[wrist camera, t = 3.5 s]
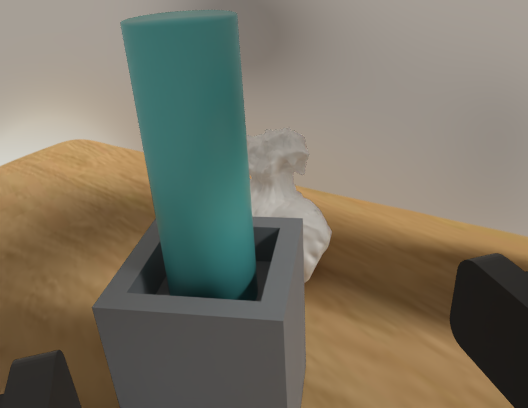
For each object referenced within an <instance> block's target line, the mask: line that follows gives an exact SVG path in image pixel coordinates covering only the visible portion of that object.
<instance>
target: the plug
mask: <svg viewBox="0 0 528 408" xmlns="http://www.w3.org/2000/svg"><path fill="white" fill-rule="evenodd" d="M121 29H122V34H123V40H124V46H125V51H126V56H127V62H128V67H129V73H130V78H131V84H132V89H133V95H134V100H135V105H136V111H137V117H138V122H139V128H140V133H141V139H142V144H143V150H144V155H145V161H146V166H147V172H148V177H149V183H150V188H151V194H152V199H153V205H154V210H155V216H156V221H157V227H158V232H159V237H160V243H161V248H162V254H163V259H164V265H165V270H166V276H167V281H168V287H169V292H170V296H184V297H199V298H215V299H230V300H246V301H256V298H257V295H258V284H257V271H256V257H255V244H254V231H253V218H252V204H251V191H250V178H249V164H248V151H247V138H246V125H245V113H244V112H245V111H244V99H243V85H242V72H241V60H240V45H239V32H238V19H237V13H236V12H232V11H224V10H192V11H176V12H166V13H157V14H150V15H144V16H138V17H134V18H129V19H126V20H124V21H122V22H121Z"/></svg>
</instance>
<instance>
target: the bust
mask: <svg viewBox="0 0 528 408" xmlns="http://www.w3.org/2000/svg"><path fill="white" fill-rule="evenodd" d="M246 138H247V151H248V164H249V175H251V177H252V179H250V191H251V204H252V216H253V217H282V218H303V250H304V283H305V282H307V281H308V280H309V279H310V277H311V275H312V273H313V271H314V269H315V267H316V265H317V263H318V261H319V260H320V258H321V256H322V254H323V253H324V252H325V251H326V250H327V248H328V246H329V243H330V238H331V234H332V231H331V229H330V227H329V226H328V225H327V222H326V220H325V218H324V217H323V214H322V212H321V211H320V209H319V208H318V207H317V206H316V205H315V204H314V203H313V202H312V201H310V200H308V199H306V198H304V197H303V196H302V194H301V193H300V192H298V191H296V187H295V185H294V182H293V173H294V172H297V173H299V174H301V175H304V174H305V167H306V163H307V160H308V157H309V153H308V150H307V146H306V141H305V137H304V136H303V135H301V134H299V133H297V132H296V131H295V130H294V131H291V129H290V128H283V129H281V130H273V131H272V130H265V134H260V135H258V136H254V137H253V136H249V135H246Z"/></svg>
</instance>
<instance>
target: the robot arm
mask: <svg viewBox="0 0 528 408" xmlns="http://www.w3.org/2000/svg"><path fill="white" fill-rule="evenodd" d="M450 325H451V330H452V333H453V335H454V337H455V339H456V341H457V343H458V344H459V346H460V347H461V348H462V349H463V350H464V351H465V352H466V354H467V355H468V356H469V357H470V358H471V359H472V360H473V361H474V363H475V364H476V365H477V366H478V367H479V368H480V369H481V370H482V372H483V373H484V374H485V375H486V376H487V377H488V378H489V379H490V381H491V382H492V383H493V384H494V385H495V386H496V387H497V388H498V390H499V391H500V392H501V393H502V394H503V395H504V396H505V397H506V399H507V400H508V401H509V402H510V403H511V404H512V405H513V406H514V408H528V272H527V271H526V272H524V271H523V270H522V269H521V268H519V267H518V266H517V265H515V264H514V263H513V262H511V261H510V260H509V259H508V258H506V257H505V256H503V255H501V254H498V253H495V254H490V255H485V256H481V257H476V258H472V259H468V260H464V261H462V262H461V263H460V264H459V266H458V270H457V275H456V282H455V288H454V294H453V300H452V307H451V313H450ZM0 408H81V405H80V402H79V399H78V396H77V393H76V390H75V387H74V384H73V381H72V378H71V375H70V372H69V369H68V366H67V363H66V360H65V357H64V355H63V353H62V351H61V350H56V351H51V352H47V353H42V354H38V355H34V356H29V357H25V358H20V359H16V360H14V361H13V363H12V365H11V368H10V372H9V376H8V380H7V384H6V388H5V393H4V394H1V395H0Z"/></svg>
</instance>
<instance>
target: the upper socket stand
mask: <svg viewBox="0 0 528 408" xmlns="http://www.w3.org/2000/svg"><path fill="white" fill-rule="evenodd" d="M252 218H253V231H254V244H255V257H256V271H257V284H258V295H257V298H256V301H246V300H230V299H215V298H199V297H184V296H170V292H169V287H168V281H167V276H166V270H165V265H164V259H163V254H162V248H161V243H160V237H159V232H158V227H157V221H156V219H155V220H154V221H153V223H152V224H151V226H150V227H149V228H148V230H147V231H146V233H145V234H144V235H143V237H142V238H141V240H140V241H139V242H138V244H137V245H136V247H135V248H134V249H133V251H132V252H131V254H130V255H129V256H128V258H127V259H126V261H125V262H124V263H123V265H122V266H121V268H120V269H119V270H118V272H117V273H116V275H115V276H114V277H113V279H112V280H111V282H110V283H109V284H108V286H107V287H106V288H105V290H104V291H103V293H102V294H101V295H100V297H99V298H98V300H97V301H96V302H95V304H94V305H93V307H92V309H93V313H94V316H95V320H96V324H97V327H98V331H99V334H100V338H101V341H102V345H103V348H104V352H105V356H106V359H107V363H108V366H109V370H110V373H111V377H112V380H113V384H114V388H115V391H116V395H117V398H118V402H119V405H120V408H301V401H302V392H303V384H304V375H305V367H306V352H305V301H304V250H303V218H282V217H253V216H252Z"/></svg>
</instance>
